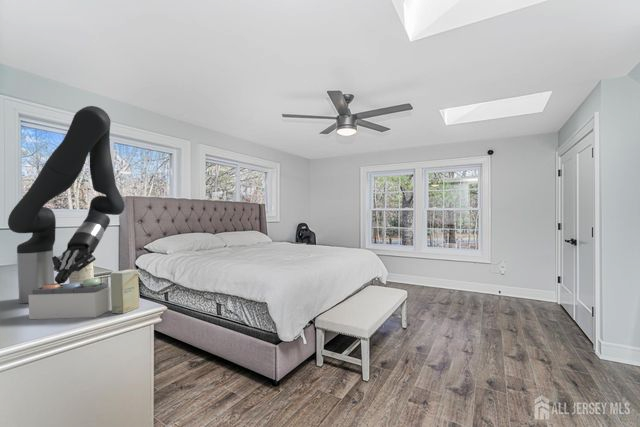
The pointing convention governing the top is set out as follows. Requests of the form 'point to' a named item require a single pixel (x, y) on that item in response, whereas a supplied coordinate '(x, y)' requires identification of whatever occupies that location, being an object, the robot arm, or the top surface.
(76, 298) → the button console
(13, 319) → the top surface
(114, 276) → the skincare box
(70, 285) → the slate blue button
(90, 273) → the aerosol can
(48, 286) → the terracotta button
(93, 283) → the sage button
